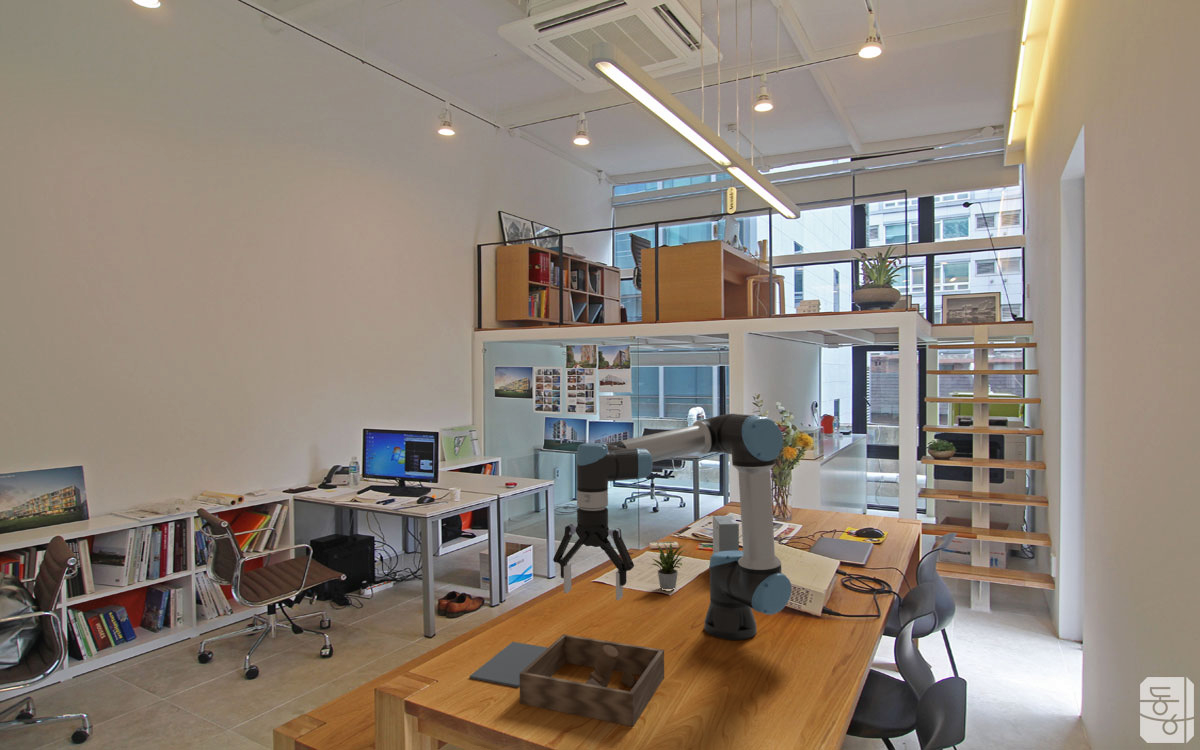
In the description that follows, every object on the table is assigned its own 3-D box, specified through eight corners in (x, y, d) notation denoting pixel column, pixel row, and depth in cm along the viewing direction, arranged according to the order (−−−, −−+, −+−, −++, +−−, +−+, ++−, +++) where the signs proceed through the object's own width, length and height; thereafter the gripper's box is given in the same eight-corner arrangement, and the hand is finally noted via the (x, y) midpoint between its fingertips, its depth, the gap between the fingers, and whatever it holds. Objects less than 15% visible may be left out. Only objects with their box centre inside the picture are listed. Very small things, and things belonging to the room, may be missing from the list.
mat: (557, 651, 180) (557, 649, 180) (518, 687, 160) (518, 685, 160) (512, 643, 185) (512, 641, 185) (469, 678, 165) (469, 675, 165)
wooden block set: (590, 723, 148) (603, 688, 145) (563, 698, 152) (574, 663, 150) (635, 688, 162) (647, 655, 159) (608, 666, 167) (620, 634, 164)
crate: (664, 677, 164) (663, 649, 164) (633, 726, 142) (632, 694, 142) (563, 660, 174) (563, 634, 174) (519, 703, 152) (519, 673, 152)
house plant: (698, 586, 232) (698, 541, 232) (681, 598, 220) (681, 550, 220) (662, 580, 240) (662, 535, 239) (644, 591, 228) (644, 544, 228)
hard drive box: (739, 578, 241) (739, 524, 241) (719, 578, 241) (718, 524, 241) (731, 565, 257) (731, 514, 256) (712, 565, 257) (711, 515, 256)
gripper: (539, 506, 159) (540, 593, 159) (636, 514, 150) (637, 606, 150) (552, 500, 166) (553, 584, 166) (646, 508, 157) (647, 596, 157)
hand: (593, 595), depth 158 cm, fingers open, 13 cm apart
